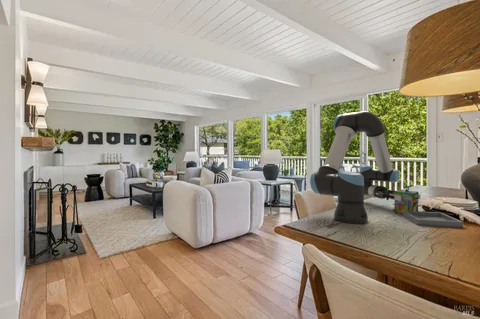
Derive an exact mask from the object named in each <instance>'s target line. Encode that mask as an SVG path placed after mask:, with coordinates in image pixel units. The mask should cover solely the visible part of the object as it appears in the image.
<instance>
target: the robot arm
mask: <svg viewBox="0 0 480 319" xmlns="http://www.w3.org/2000/svg"><path fill="white" fill-rule="evenodd" d="M333 131H334V133H335V136H334V139H333V141H332V143H331V146H330V148H329V151H328V153H327V156H326V158H325V161H324V163H323V165H321V166H319V168H318V170H317V171H313V172H312V173H311V175H310V178H309V185H310V188H311V190H312V191H313V192H314V194H319V195H325V196H333V197H337V204H336V207H335V209H334V213H333V219H334V220H336V221H338V222H341V223H347V224H364V223H365V224H366V223H368V221H369V216H368V213H367V211H366V207H365V202H364V201H365V198H364V197H365V196H368V197H373V199H376V198H377V199H382V200H383V199H386V201H389V199H390V200H394V201H395V200H398V201H401V196H399V195H395V192H396V191H397V190H394V189H393V190H392V189H388V188H387V187H386V186H383V185H379V184H378V185H376V184H374V183H373V182H374V181H375V182H385V183H397V182H398V181H399V180H400V171H399V170H398V169H394V167H393V163H392V160H391V156H390V152H389V148H388V145H387V141H386V137H385V133H386V129H385V126H384V123H383V122H382V120H381V119H380V118H379V117H378V116H377V115H376V114H374V113H372V112H371V111H367V110H366V111H365V110H362V111H355V112H348V113H345V112H344V113H342V114H341V113H340V114H338V115H337V116H336V117H335V118H334V120H333ZM357 133H365V135H366V137H367V138H368V139H369V142H370V145H371V146H370V147H371V149H372V152H373V156H374V159H375V161H376V165H377V168H374V166H373V165H361V166H360V168H359V172H355V171H349V170H341V167H342V164H343V162H344V159H345V156H346V154H347V152H348V148H349V146H350V143H351V140H352V139H354V138H355V137H356V135H357ZM418 200H421V194H420V193H419V196H418Z"/></svg>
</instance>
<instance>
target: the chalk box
mask: <svg viewBox="0 0 480 319" xmlns="http://www.w3.org/2000/svg"><path fill="white" fill-rule="evenodd" d="M410 187H411V185H406V188H405V189H398V190H395V191H396V192H395V195H399V196H401V201H398V200H394V210H393V211H394V213H398V214H403V211H417V212H419V199H418V196H419V194H420V192H419V191H414V190H410Z"/></svg>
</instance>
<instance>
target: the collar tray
mask: <svg viewBox="0 0 480 319" xmlns="http://www.w3.org/2000/svg"><path fill="white" fill-rule="evenodd" d="M402 217H405V218H406V219H408V220H409V221H411V222H412V223H414V224H416V225H417V226H424V227H425V226H426V227H427V226H428V227H429V226H430V227H445V228H446V227H448V228H464V227H463V225H464V224H463V223H464V221H462V220H460V219H458V218H454V217H453V216H450V215H448V214H446V213H443V212H435V211H418V212H417V211H403V213H402Z"/></svg>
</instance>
